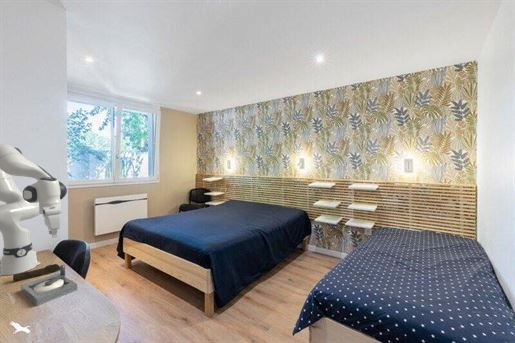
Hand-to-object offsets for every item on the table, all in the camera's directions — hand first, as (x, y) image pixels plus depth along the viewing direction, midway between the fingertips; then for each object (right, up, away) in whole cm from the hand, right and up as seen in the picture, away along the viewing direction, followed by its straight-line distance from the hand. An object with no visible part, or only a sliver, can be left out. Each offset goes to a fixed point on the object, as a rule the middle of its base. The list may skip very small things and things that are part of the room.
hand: (52, 235), depth 126 cm
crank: (+5, -23, -6) cm, 25 cm away
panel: (+5, -25, -8) cm, 26 cm away
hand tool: (-15, -24, +8) cm, 30 cm away
